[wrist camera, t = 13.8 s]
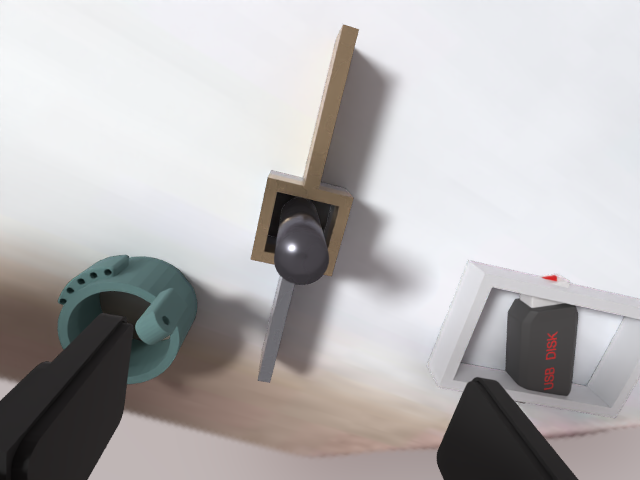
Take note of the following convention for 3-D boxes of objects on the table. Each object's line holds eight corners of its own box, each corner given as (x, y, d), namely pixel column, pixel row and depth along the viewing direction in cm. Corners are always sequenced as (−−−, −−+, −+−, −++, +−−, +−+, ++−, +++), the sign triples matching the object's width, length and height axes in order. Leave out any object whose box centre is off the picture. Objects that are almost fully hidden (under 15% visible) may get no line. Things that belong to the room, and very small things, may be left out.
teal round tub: (208, 267, 30) (174, 322, 22) (184, 359, 33) (144, 441, 24) (96, 236, 29) (12, 281, 20) (79, 334, 31) (-3, 411, 23)
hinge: (299, 357, 33) (300, 387, 30) (234, 346, 32) (226, 375, 29) (382, 53, 26) (397, 41, 22) (301, 28, 25) (302, 12, 22)
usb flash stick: (504, 390, 36) (521, 411, 33) (508, 279, 33) (527, 292, 30) (555, 382, 36) (576, 402, 34) (564, 271, 33) (588, 283, 30)
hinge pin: (285, 193, 29) (280, 227, 19) (321, 202, 29) (335, 239, 20) (277, 229, 30) (268, 278, 20) (312, 237, 30) (321, 289, 20)
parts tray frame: (426, 365, 35) (438, 387, 32) (468, 259, 31) (485, 273, 29) (590, 395, 37) (615, 418, 34) (644, 299, 34) (676, 315, 31)
